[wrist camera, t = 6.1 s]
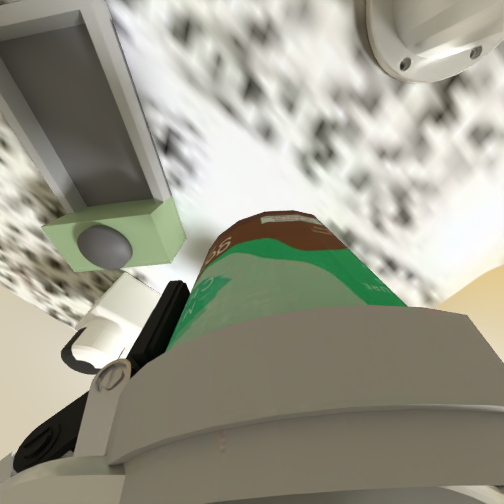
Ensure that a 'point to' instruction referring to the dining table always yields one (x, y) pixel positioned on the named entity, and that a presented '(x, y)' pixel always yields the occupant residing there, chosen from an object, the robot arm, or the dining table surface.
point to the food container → (306, 381)
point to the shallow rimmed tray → (86, 134)
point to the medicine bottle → (110, 325)
